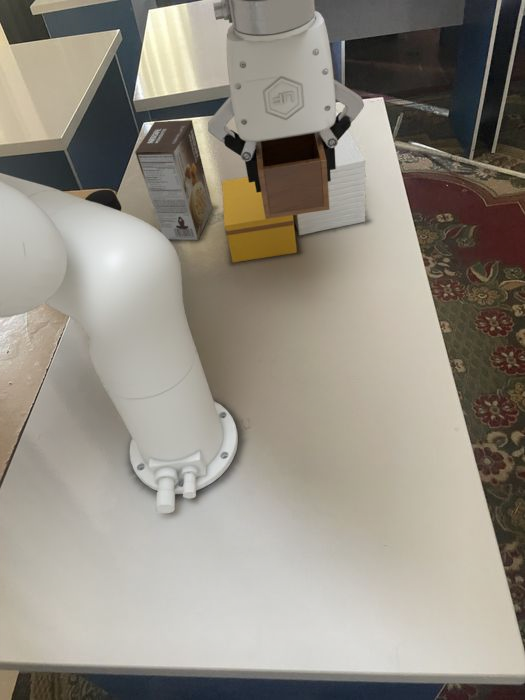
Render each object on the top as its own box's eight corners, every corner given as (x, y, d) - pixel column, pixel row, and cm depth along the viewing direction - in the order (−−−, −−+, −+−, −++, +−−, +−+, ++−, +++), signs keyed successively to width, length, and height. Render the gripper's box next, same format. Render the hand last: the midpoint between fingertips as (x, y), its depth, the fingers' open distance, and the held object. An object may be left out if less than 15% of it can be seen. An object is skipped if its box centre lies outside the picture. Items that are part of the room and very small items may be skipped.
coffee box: (179, 207, 99) (154, 119, 87) (213, 207, 98) (193, 118, 86) (162, 240, 94) (133, 151, 82) (199, 241, 92) (175, 150, 80)
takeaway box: (297, 253, 87) (293, 214, 82) (232, 262, 87) (224, 225, 82) (288, 207, 95) (284, 170, 90) (229, 217, 95) (221, 180, 90)
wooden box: (329, 209, 61) (326, 160, 57) (265, 219, 62) (257, 170, 57) (318, 160, 68) (315, 112, 64) (261, 169, 69) (253, 122, 64)
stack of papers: (365, 221, 90) (365, 160, 82) (299, 235, 90) (293, 175, 82) (319, 128, 111) (316, 72, 103) (266, 139, 111) (258, 84, 103)
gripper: (175, 40, 49) (216, 211, 62) (377, 5, 48) (375, 187, 61) (179, 9, 54) (217, 174, 67) (362, -23, 53) (363, 151, 66)
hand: (292, 179), depth 64 cm, fingers closed on wooden box, 7 cm apart
